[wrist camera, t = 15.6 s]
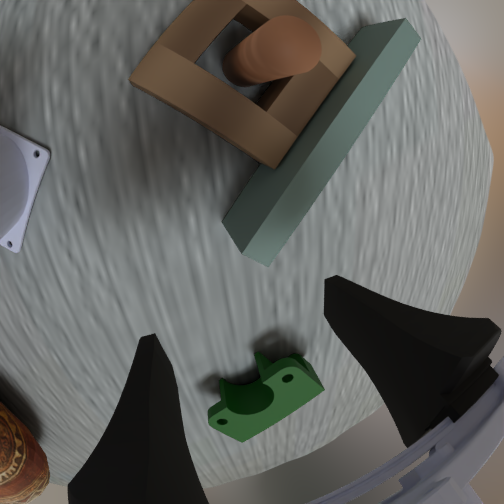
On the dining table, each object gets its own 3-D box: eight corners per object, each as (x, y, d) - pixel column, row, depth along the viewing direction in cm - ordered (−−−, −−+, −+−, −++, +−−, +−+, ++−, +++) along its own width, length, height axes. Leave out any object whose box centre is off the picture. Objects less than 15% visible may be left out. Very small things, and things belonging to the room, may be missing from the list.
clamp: (256, 324, 32) (303, 346, 24) (286, 351, 34) (335, 375, 26) (190, 401, 28) (218, 446, 20) (226, 422, 30) (260, 464, 22)
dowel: (212, 66, 15) (245, 38, 9) (244, 38, 14) (290, 5, 9) (245, 95, 16) (292, 86, 11) (274, 68, 16) (332, 51, 10)
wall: (221, 222, 20) (241, 253, 16) (362, 27, 16) (405, 18, 12) (243, 234, 21) (268, 267, 17) (377, 43, 17) (421, 38, 12)
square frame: (132, 85, 14) (128, 79, 11) (225, -21, 12) (237, -39, 9) (257, 161, 19) (274, 169, 16) (332, 60, 17) (356, 55, 14)
